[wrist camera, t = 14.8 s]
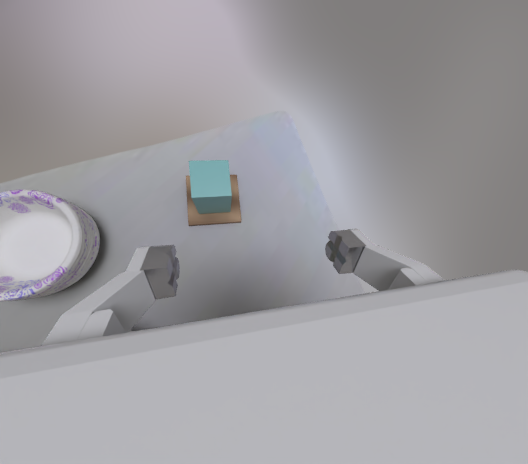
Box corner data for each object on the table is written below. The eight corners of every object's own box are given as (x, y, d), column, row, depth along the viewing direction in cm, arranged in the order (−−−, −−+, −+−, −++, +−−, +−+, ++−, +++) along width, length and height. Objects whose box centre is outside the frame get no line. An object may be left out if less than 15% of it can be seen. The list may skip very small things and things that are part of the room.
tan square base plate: (241, 222, 41) (244, 211, 33) (189, 225, 39) (180, 215, 31) (236, 176, 42) (239, 156, 35) (186, 177, 40) (177, 156, 33)
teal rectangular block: (230, 211, 40) (231, 195, 31) (199, 214, 39) (191, 197, 30) (227, 183, 41) (228, 160, 32) (196, 184, 40) (188, 160, 31)
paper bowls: (92, 193, 37) (57, 172, 29) (123, 269, 35) (95, 268, 28) (-9, 226, 33) (-81, 212, 25) (21, 312, 31) (-44, 326, 24)
